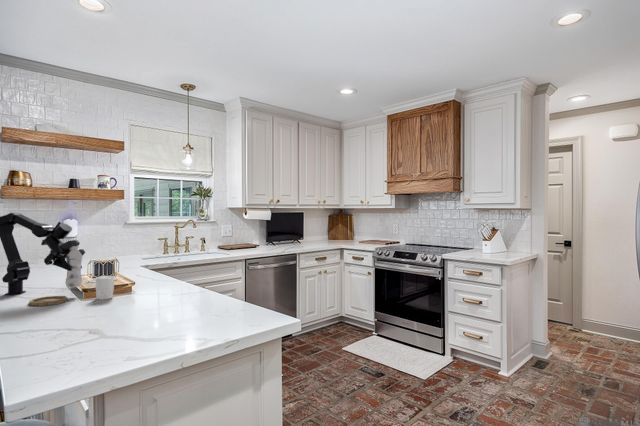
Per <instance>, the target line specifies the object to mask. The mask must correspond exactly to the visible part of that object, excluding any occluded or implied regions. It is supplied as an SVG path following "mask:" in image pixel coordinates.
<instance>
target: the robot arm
mask: <svg viewBox="0 0 640 426" xmlns="http://www.w3.org/2000/svg"><path fill="white" fill-rule="evenodd" d="M15 225H20V226H21V227H24V228H25V229H28V230H30V231H31V233H32V235H34V236H35V237H36V238H44V239H42V241H41V246H47V247H48V248H49V249H50V251H49V254H48V255H47V256H46V257H45V258H44V260H43V262H44V264H45V265H46V266H49V265H52V266H56V267H58V268H61V269H64V270H66V271H67V270H68V271H71V270H72V269H71V267H70V266H69V265H68V263H67V261H66V256H67V254H68V253H69V252H70V250H69V249H70V247H72V246H80V241H79V240H78V239H73V240H68V241H65V242H63V241H62V240H65V239H66V237H68V236H69V235H70V233H71V232H72V231H73V228H72V226H71V225H69V224H67V223H64V222H63V221H58V222H57V224H56V225H55V226H53V225H51V224H47V223H41V222H38V221H36V220H34V219H32V218H29V217H27V216H26V215H23V213H20V212H10V213H8V214H5V215H2V216H0V242H1V245H2V247H3V250H4V253H5V256H6V259H7V262H8V263H7V267H6V274H5V275H4V276H3V277H2V283H7V292H5V293H4V295H5V296H7V295H8V296H9V295H21V294H24V293H26V291H27V290H24V281H28V279H29V276H30V273H31V270H30V269H31V267H30V265H29V262H28V261H27V260H25V261H24V260H22V258H21V254H20V253H19V250H18V246H17V244H16V240H15V238H14V234H13V232H14V230H15V229H14V228H15ZM78 251H79V252H80V253H81V254H82V257H83V256H84V255H85V254H86V250H84V249H80V248H79V250H78ZM82 268H83V267H82V265H81V269H82Z"/></svg>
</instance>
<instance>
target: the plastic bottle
mask: <svg viewBox="0 0 640 426" xmlns="http://www.w3.org/2000/svg"><path fill="white" fill-rule="evenodd" d="M79 247H80V245H78V246H72V247H70V249H69V250H70V252H69V253H68V254H67V256H66V259H65V260H66V262H67V263H68V265H69V266H70V267H71V269H72V270H71V271H68V270H66V277H65V281H64V282H65V286H66V287H67V288H72V289H73V288H77V287H81V285H82V284H83V278H82V268H81V266H82V262H83V256H82V254H81V253H80V252H79V251H78V250H79V249H80V248H79Z"/></svg>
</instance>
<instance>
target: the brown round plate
mask: <svg viewBox="0 0 640 426" xmlns="http://www.w3.org/2000/svg"><path fill="white" fill-rule="evenodd" d="M68 301H69V299H68V296H65V295H50V296H42V297H36V298H32V299H30V300H29V302H28V303H27V304H28V305H27V306H30V307H48V306H57V305H61V304H65V303H66V302H68Z"/></svg>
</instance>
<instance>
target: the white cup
mask: <svg viewBox="0 0 640 426" xmlns="http://www.w3.org/2000/svg"><path fill="white" fill-rule="evenodd" d="M94 281H95V293H96V296H95V297H96V300H101V301H102V300H103V301H104V300H109V299H112V298H113V297H114V291H115V290H114V289H115V276H114V275H100V276H95V279H94Z"/></svg>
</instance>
